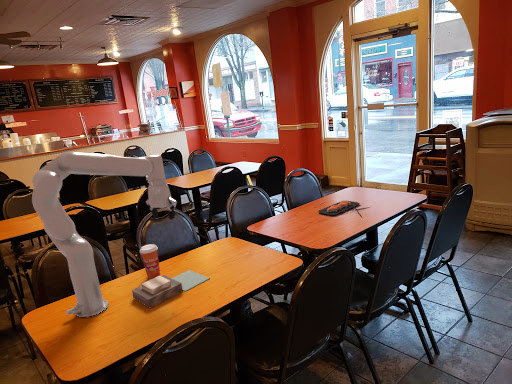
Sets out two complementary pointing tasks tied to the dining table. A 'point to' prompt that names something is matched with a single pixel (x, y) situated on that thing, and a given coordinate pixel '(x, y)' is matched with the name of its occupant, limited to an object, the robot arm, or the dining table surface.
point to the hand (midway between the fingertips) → (164, 218)
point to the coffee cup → (150, 260)
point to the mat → (190, 279)
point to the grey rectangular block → (157, 293)
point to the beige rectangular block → (156, 284)
